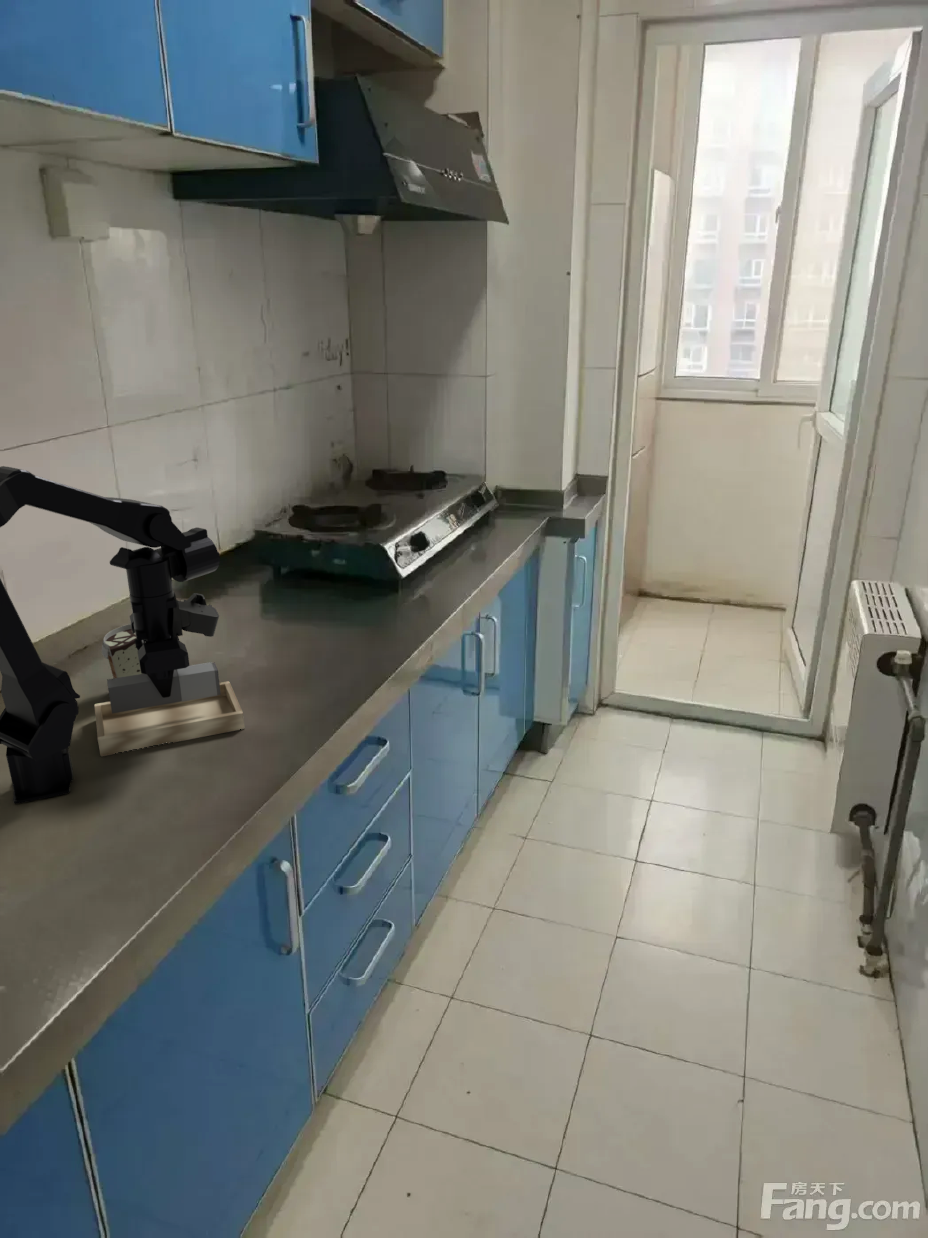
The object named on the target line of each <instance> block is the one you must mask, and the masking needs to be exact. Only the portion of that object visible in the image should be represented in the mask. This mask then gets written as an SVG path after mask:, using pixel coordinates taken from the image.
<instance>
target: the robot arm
mask: <svg viewBox="0 0 928 1238" xmlns="http://www.w3.org/2000/svg"><path fill="white" fill-rule="evenodd" d="M25 506H29V507H31V508H37V509H40V510H42V511H43V510H44V511H47V512H50V513H53V514H54V513H55V514H58V515H61V516H64V517H69V518H73V519H76V520H80V521H83V522H86V523H89V524H91V525H93V526H95V527H97V528H98V529H100V530H101V531H103V532H105V533H107V534H109V535H111V536H113V537H115V538H117V539H118V540H121V541H124V542H129V543H132V544H136V545H140V546H142V547H139V548H136V549H131V548H126V547H120V548H119V549H118V551H117V553H116V554H115V555H113V556H112V558H111V559H110V560H109V564H110V566H113V567H116V568H120V569H124V570H125V571H126V578H127V585H128V586H127V587H128V592H129V601H130V605H131V606H130V608H131V612H132V613H131V614H130V615H129V622H130V624H131V628H132V633H133V634H134V633H135V634H136V638H137V639H135V645H136V648H137V650H138V651H137V652H138V659H139V665H140V670H141V673H142V674H147V675H148V677H149V678H150V680H151V681H152V682H153V684H154V685H155V687H156V688H157V690H158V691H159V693H160V694H161V696H162V697H163V698H166V697H170V696H171V689H172V681H173V674H174V670H176V669H182V668H187V667H188V666H190V665H191V664H190V658H189V652H188V650H187V647H186V644H185V643H183V642H182V641H181V640H180V638H179V637H183V635H184V634H183V631H184V632H188V633H195V634H198V635H204V636H205V637H211V638H213V637H214V635H215V632H216V629H217V625H218V621H219V617H220V615H219V613H218V611H217V609H216V607H214V606H213V605H212V604H208V605H207V601H206V598H205V596H204V594H202V593H197V592H193V593H192V594H191V595H190V596H189V597H188V598H187V599H183V600H179V599H177V596H176V593H175V592H174V587H173V580H175V582H178V583H184V582H187V581H189V580H192V579H195V578H199V577H201V576H204V575H205V576H206V575H208V574H211V573H213V572H216V571H217V569H218V568H219V567H220V563H221V555H220V552H219V551H218V549H217V546H216V544H215V543H214V542H213V540H212V539H211V538H210V537H209V535H208V530H207V529H206V528H202V527H194V528H191V529H189V530H186V531H184V532H182V531H181V530H180V529H179V527H178V526H177V525H176V524H175V523H174V522H173V519H172V516H171V513H170V510H169V509H168V508H167V507H164V506H163V505H159V504H154V503H150V502H144V501H139V500H136V499H135V500H134V499H130V498H123V497H122V498H121V497H109V496H108V497H106V496H101V495H98V494H96V493H92V492H89V491H85V490H83V489H81V488H80V489H79V488H77V487H73V486H70V485H66V484H64V483H61V482H58V481H55V480H50V479H48V478H45V477H42V476H38V475H35V474H34V473H32V472H31V471H29V470H26V469H22V468H16V467H12V466H4V465H3V466H0V528H2V527H3V526H5V525H6V524H8V522H9V521H10V520H12V518H13V517H14V516H15V514H16V513H17V512H18V511H19V510H20V509H22V508H23V507H25ZM143 546H144V547H143ZM172 579H173V580H172ZM27 631H28V630H27V629H26V626H25V625H24V623H23V621H22V619H21V617H20V615H19V613H18V611H17V608H16V607H15V605H14V603H13V601H12V599H11V597H10V594H9V593H8V591H7V589H6V587H5V584H4V583H3V581H2V579H1V578H0V674H1V687H0V688H1V690H0V694H1V697H2V699H3V703H4V708H3V710H2V712H1V714H0V745H4V746H6V753H5V757H6V762H7V765H8V771H9V775H10V781H11V784H12V788H13V793H12V794H13V796H12V800H13V802H12V803H13V804H15V805H19V804H23V803H28V802H33V801H36V800H38V801H39V800H43V799H48V798H51V797H57V796H61V795H63V796H64V795H67V794H69V793H70V792H71V783H72V782H73V781H74V770H73V764H72V760H71V754H70V749H69V747H71V743H72V737H73V729H74V724H75V720H76V717H77V715H78V714H79V712H80V711H79V709H80V707H79V704H78V701H77V699H81V695H80V694H78V692H76V690H75V689H74V686H73V685H72V681H71V677H70V675H69V673H68V672H67V671H66V670H64V669H61V668H58V667H56V666H53V665H50V664H48V663H46V662H43V661H42V659H41V657H40V655H39V653H38V652H37V650H36V647H35V645H34V644H33V641H32V640H31V637H30V635H29V633H28V632H27Z"/></svg>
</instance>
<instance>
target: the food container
mask: <svg viewBox="0 0 928 1238" xmlns="http://www.w3.org/2000/svg"><path fill="white" fill-rule="evenodd" d="M135 639H137V638H136V634H135V633H134V634H133V633H132V628H131V623H129V624H124V625H122V626H119V627H117V628H114V629H111V630H110V631H109V632H107V633H106V634H105V635H104V637H103V640H102V643H101V655H102V656H103V658H105V659H106V660H108V663H109V666H110V670H111V674H112V676H113V678H120V677H126V676H132V675H139V674H142V673H141V670H140V665H139V659H138V652H137V651H138V650H137V648H136V645H135ZM113 678H112V679H113Z"/></svg>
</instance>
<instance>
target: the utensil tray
mask: <svg viewBox="0 0 928 1238" xmlns="http://www.w3.org/2000/svg"><path fill="white" fill-rule="evenodd" d="M219 683H220V693H221V695H217V696H212V697H206V698H201V699H195V700H189V701H183V702H176V703H170V704H164V705H159V706H153V707H147V708H141V709H136V710H130V711H124V712H118V713H113V714H112V709H111V703H110V701H105V702H99V703H95V704H94V713H95V714H94V715H95V723H96V733H97V734H96V735H97V742H98V743H97V744H98V749H99V754H100V757H106V756H111V755H116V754H119V753H118V752H122V753H125V752H124V751H127V752H129V751H128V750H131V749H137V750H140V749H139V748H142V749H145V748H144V747H147V748H149V747H148V746H153V745H158V744H162V743H166V742H167V743H168V744H170V743H169V742H173V743H177V742H183V741H189V740H194V739H198V738H204V737H208V736H213V735H215V736H216V735H219V734H223V733H224V734H225V733H229V732H234V731H235V732H236V731H241V730H244V729H245V718H244V712H243V709H242V707H241V705H240V703H239V700H238V698H237V696H236V694H235V691H234V689H233V687H232V685H231V683H230V681H228V680H227V681H223V682H222V681H221V682H219ZM240 729H241V730H240ZM158 746H159V745H158ZM153 747H154V746H153ZM115 753H116V754H115Z"/></svg>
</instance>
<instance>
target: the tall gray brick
mask: <svg viewBox="0 0 928 1238" xmlns="http://www.w3.org/2000/svg"><path fill="white" fill-rule="evenodd" d="M189 665H190V666H188V667H187V668H182V669H176V670H174V674H173V681H172V689H171V696H170V697H166V698H163V697H162V696H161V694H160V693H159V691H158V690H157V688H156V687H155V685H154V684H153V682H152V681H151V680H150V678H149V677H148V675H147V674H139V675H132V676H126V677H120V678H109V679H106V683H107V690H108V696H109V702H110V703H111V709H112V714H113V713H118V712H124V711H130V710H136V709H141V708H147V707H153V706H159V705H164V704H170V703H176V702H183V701H189V700H195V699H201V698H206V697H212V696H217V695H221V693H220V683H221V682H220V676H219V670H218V666H217V664H216V662H212V661H208V662H204V663H196V664H189Z"/></svg>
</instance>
